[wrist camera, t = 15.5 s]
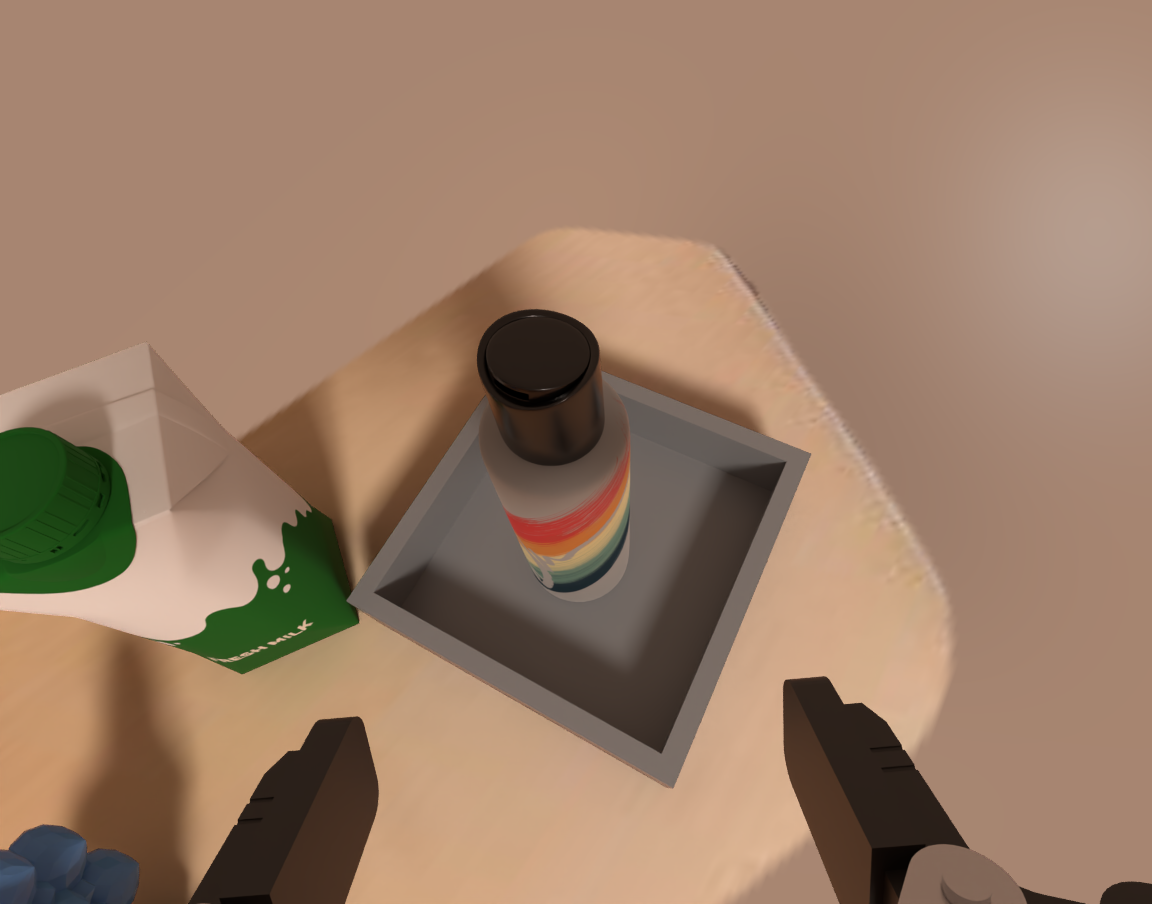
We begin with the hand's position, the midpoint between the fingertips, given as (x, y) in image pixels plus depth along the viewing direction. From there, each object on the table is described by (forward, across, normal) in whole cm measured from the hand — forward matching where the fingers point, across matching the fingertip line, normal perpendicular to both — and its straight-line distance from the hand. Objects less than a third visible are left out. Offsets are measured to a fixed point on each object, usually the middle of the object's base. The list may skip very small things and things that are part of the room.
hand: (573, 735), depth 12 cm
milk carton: (+24, +18, +9) cm, 32 cm away
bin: (+24, 0, +9) cm, 26 cm away
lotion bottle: (+24, +1, +8) cm, 25 cm away
